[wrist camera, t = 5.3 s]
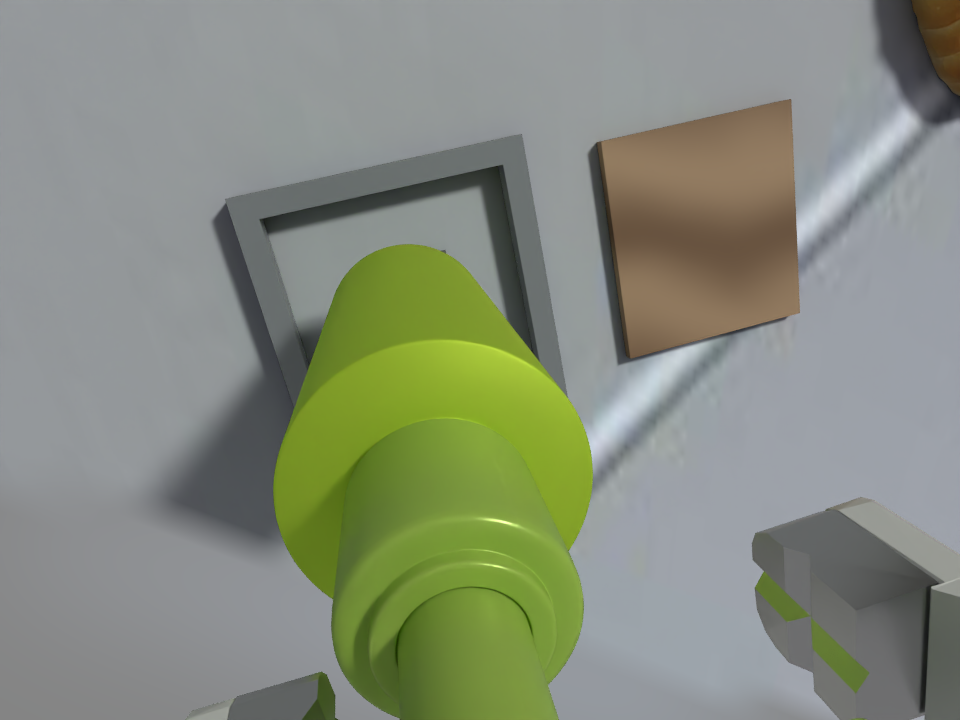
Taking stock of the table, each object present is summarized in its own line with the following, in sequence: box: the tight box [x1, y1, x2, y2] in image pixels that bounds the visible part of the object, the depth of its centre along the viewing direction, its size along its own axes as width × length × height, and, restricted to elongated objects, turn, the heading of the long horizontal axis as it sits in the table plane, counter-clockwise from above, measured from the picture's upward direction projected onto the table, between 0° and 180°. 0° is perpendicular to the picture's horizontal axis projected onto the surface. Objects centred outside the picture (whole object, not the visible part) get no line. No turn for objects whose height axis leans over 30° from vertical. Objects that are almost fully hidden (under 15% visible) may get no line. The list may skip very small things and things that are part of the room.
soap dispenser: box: [273, 244, 867, 720], centre depth 15 cm, size 6×7×20 cm
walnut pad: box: [597, 99, 800, 359], centre depth 29 cm, size 10×9×1 cm
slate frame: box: [225, 134, 568, 408], centre depth 27 cm, size 12×12×1 cm
